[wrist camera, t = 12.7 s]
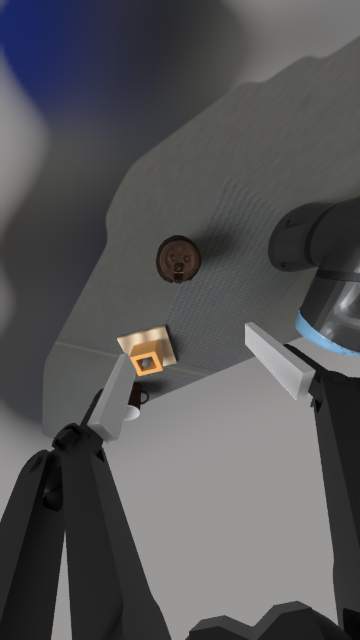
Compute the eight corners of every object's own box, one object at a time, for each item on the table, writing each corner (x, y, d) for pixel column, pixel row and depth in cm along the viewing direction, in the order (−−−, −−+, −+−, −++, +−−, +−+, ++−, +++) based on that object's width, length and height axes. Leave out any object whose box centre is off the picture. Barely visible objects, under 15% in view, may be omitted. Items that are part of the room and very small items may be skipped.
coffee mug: (124, 394, 56) (116, 421, 47) (121, 380, 52) (111, 406, 43) (152, 393, 57) (149, 418, 48) (151, 379, 53) (147, 404, 44)
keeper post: (164, 325, 43) (164, 337, 36) (176, 360, 50) (177, 375, 44) (118, 336, 43) (109, 350, 37) (136, 370, 50) (131, 387, 44)
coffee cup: (176, 283, 37) (180, 295, 26) (152, 262, 35) (144, 265, 23) (197, 258, 35) (212, 259, 23) (173, 233, 32) (177, 220, 21)
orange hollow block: (156, 339, 44) (155, 351, 38) (163, 357, 47) (162, 370, 42) (133, 345, 44) (128, 357, 38) (142, 362, 47) (138, 376, 42)
